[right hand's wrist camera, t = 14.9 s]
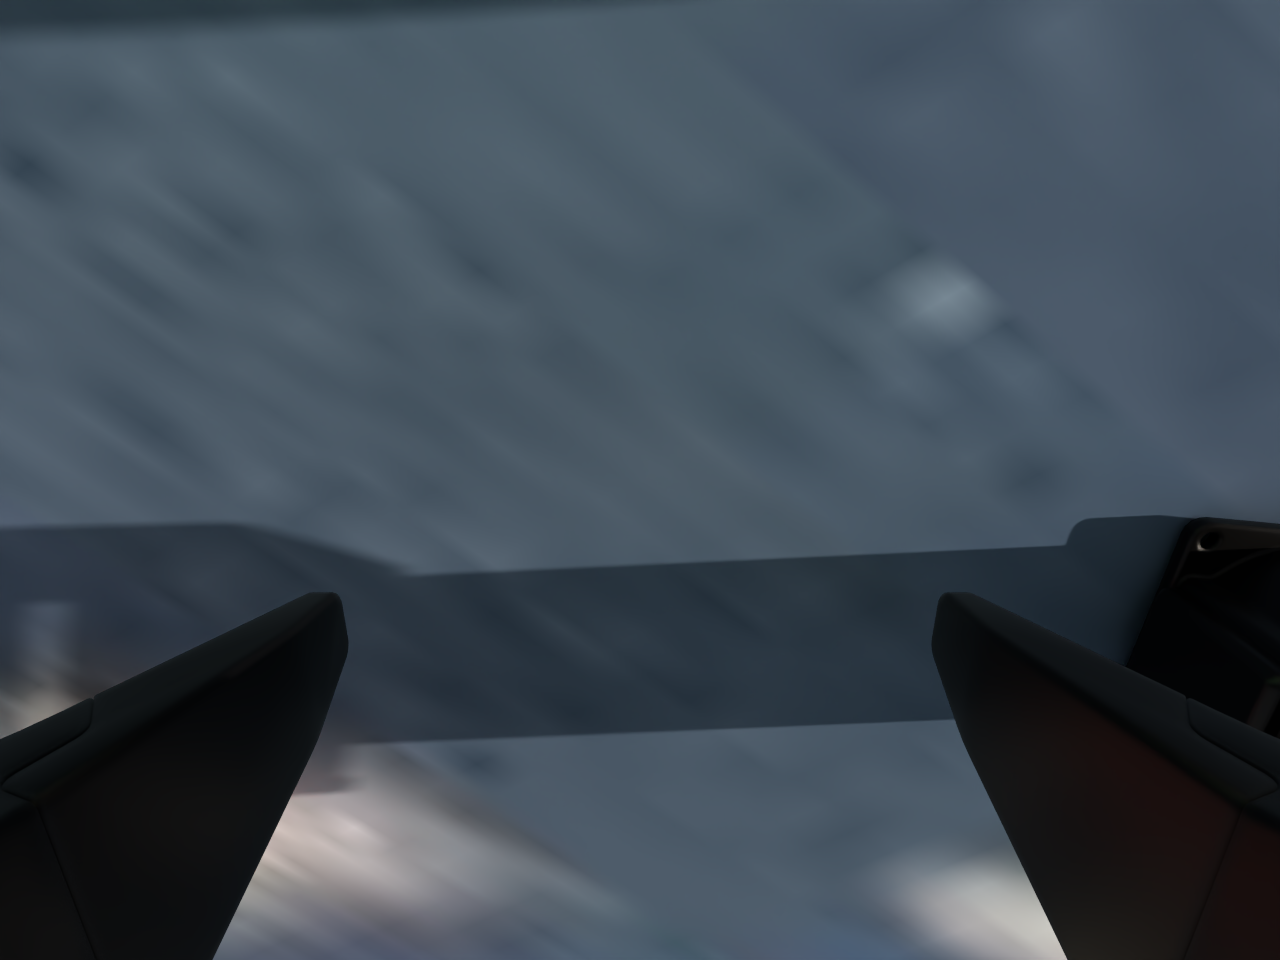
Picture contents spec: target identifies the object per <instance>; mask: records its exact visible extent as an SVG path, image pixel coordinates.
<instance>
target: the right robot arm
mask: <svg viewBox="0 0 1280 960" xmlns="http://www.w3.org/2000/svg"><path fill="white" fill-rule="evenodd" d="M1207 533H1209V536H1208V537H1207V539H1206V540H1204V541H1202V542H1200V540H1201V539H1202V537H1203V536H1204V535H1206V534H1207ZM347 653H348V636H347V630H346V624H345V618H344V612H343V606H342V601H341V599H340V597H339V596H338V595H337V594H336V593H332V592H313V593H308V594H306V595H304V596H302V597H299V598H297V599H295V600H293V601H291V602H289V603H287V604H285V605H283V606H281V607H279V608H277V609H274V610H272V611H270V612H268V613H266V614H264V615H262V616H260V617H258V618H256V619H254V620H251V621H249V622H247V623H245V624H243V625H241V626H239V627H237V628H235V629H233V630H231V631H229V632H226V633H224V634H222V635H220V636H218V637H216V638H214V639H212V640H210V641H208V642H206V643H204V644H201V645H199V646H197V647H195V648H193V649H191V650H189V651H187V652H185V653H183V654H181V655H179V656H176V657H174V658H172V659H170V660H168V661H166V662H164V663H162V664H160V665H158V666H156V667H153V668H151V669H149V670H147V671H145V672H143V673H141V674H139V675H137V676H135V677H133V678H131V679H128V680H126V681H124V682H122V683H120V684H118V685H116V686H114V687H112V688H110V689H108V690H106V691H103V692H101V693H99V694H97V695H96V696H95V697H94V700H93V699H91V698H89V699H86V700H84V701H82V702H80V703H78V704H76V705H74V706H72V707H70V708H68V709H66V710H64V711H61V712H59V713H57V714H55V715H53V716H51V717H49V718H46V719H44V720H42V721H40V722H38V723H36V724H33V725H31V726H29V727H27V728H25V729H23V730H20V731H18V732H16V733H14V734H11V735H9V736H7V737H4V738H2V739H0V960H213V957H214V955H215V953H216V951H217V949H218V947H219V945H220V943H221V941H222V939H223V937H224V935H225V933H226V930H227V928H228V926H229V924H230V922H231V920H232V918H233V916H234V914H235V912H236V910H237V908H238V906H239V903H240V901H241V899H242V897H243V895H244V893H245V891H246V889H247V887H248V885H249V883H250V881H251V879H252V876H253V874H254V872H255V870H256V868H257V866H258V864H259V862H260V860H261V858H262V856H263V854H264V852H265V849H266V847H267V845H268V843H269V841H270V839H271V837H272V835H273V833H274V831H275V829H276V827H277V825H278V822H279V820H280V818H281V816H282V814H283V812H284V810H285V808H286V806H287V804H288V802H289V800H290V798H291V795H292V793H293V791H294V789H295V787H296V785H297V783H298V781H299V779H300V777H301V775H302V773H303V771H304V768H305V766H306V764H307V762H308V760H309V758H310V756H311V754H312V752H313V749H314V747H315V745H316V743H317V740H318V738H319V735H320V732H321V730H322V727H323V724H324V721H325V718H326V715H327V712H328V710H329V707H330V704H331V701H332V698H333V695H334V692H335V689H336V686H337V683H338V680H339V677H340V674H341V672H342V669H343V666H344V663H345V660H346V657H347ZM932 653H933V657H934V660H935V663H936V666H937V669H938V672H939V674H940V677H941V680H942V683H943V686H944V689H945V692H946V695H947V698H948V701H949V704H950V707H951V710H952V712H953V715H954V718H955V721H956V724H957V727H958V730H959V732H960V735H961V738H962V740H963V743H964V745H965V747H966V749H967V752H968V754H969V756H970V758H971V760H972V762H973V764H974V766H975V769H976V771H977V773H978V775H979V777H980V779H981V781H982V783H983V785H984V787H985V789H986V791H987V793H988V796H989V798H990V800H991V802H992V804H993V806H994V808H995V810H996V812H997V814H998V816H999V818H1000V820H1001V823H1002V825H1003V827H1004V829H1005V831H1006V833H1007V835H1008V837H1009V839H1010V841H1011V843H1012V845H1013V847H1014V850H1015V852H1016V854H1017V856H1018V858H1019V860H1020V862H1021V864H1022V866H1023V868H1024V870H1025V872H1026V874H1027V877H1028V879H1029V881H1030V883H1031V885H1032V887H1033V889H1034V891H1035V893H1036V895H1037V897H1038V899H1039V901H1040V904H1041V906H1042V908H1043V910H1044V912H1045V914H1046V916H1047V918H1048V920H1049V922H1050V924H1051V926H1052V928H1053V931H1054V933H1055V935H1056V937H1057V939H1058V941H1059V943H1060V945H1061V947H1062V949H1063V951H1064V953H1065V955H1066V958H1067V960H1280V524H1275V523H1264V522H1254V521H1243V520H1232V519H1222V518H1211V517H1202V518H1197V519H1195V520H1193V521H1191V522H1190V523H1188V524H1187V525H1186V526H1185V527H1184V529H1183V531H1182V532H1181V534H1180V537H1179V539H1178V542H1177V544H1176V547H1175V549H1174V552H1173V554H1172V556H1171V559H1170V561H1169V564H1168V566H1167V569H1166V571H1165V574H1164V576H1163V578H1162V581H1161V583H1160V586H1159V588H1158V591H1157V593H1156V596H1155V598H1154V601H1153V603H1152V605H1151V608H1150V610H1149V613H1148V615H1147V618H1146V620H1145V623H1144V625H1143V627H1142V630H1141V632H1140V635H1139V637H1138V640H1137V642H1136V645H1135V647H1134V650H1133V652H1132V654H1131V657H1130V659H1129V662H1128V664H1127V667H1124V666H1122V665H1120V664H1118V663H1116V662H1114V661H1112V660H1110V659H1108V658H1106V657H1104V656H1101V655H1099V654H1097V653H1095V652H1093V651H1091V650H1089V649H1087V648H1085V647H1083V646H1081V645H1079V644H1076V643H1074V642H1072V641H1070V640H1068V639H1066V638H1064V637H1062V636H1060V635H1058V634H1056V633H1054V632H1051V631H1049V630H1047V629H1045V628H1043V627H1041V626H1039V625H1037V624H1035V623H1033V622H1031V621H1028V620H1026V619H1024V618H1022V617H1020V616H1018V615H1016V614H1014V613H1012V612H1010V611H1008V610H1006V609H1003V608H1001V607H999V606H997V605H995V604H993V603H991V602H989V601H987V600H985V599H983V598H981V597H978V596H976V595H974V594H972V593H967V592H948V593H944V594H943V595H942V596H941V597H940V599H939V601H938V606H937V612H936V618H935V624H934V630H933V636H932Z"/></svg>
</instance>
